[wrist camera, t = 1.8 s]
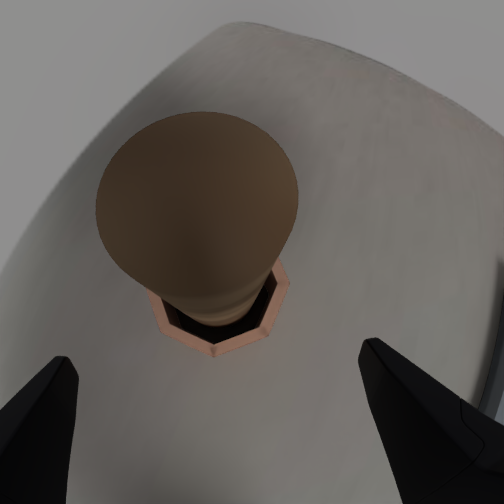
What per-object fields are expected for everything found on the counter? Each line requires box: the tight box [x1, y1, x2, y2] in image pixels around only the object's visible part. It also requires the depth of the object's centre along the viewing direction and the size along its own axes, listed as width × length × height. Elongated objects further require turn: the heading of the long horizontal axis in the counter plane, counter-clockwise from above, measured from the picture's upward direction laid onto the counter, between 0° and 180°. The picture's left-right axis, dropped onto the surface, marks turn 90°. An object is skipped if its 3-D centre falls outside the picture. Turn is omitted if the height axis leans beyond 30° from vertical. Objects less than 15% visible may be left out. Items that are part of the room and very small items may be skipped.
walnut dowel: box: [96, 112, 298, 329], centre depth 13 cm, size 4×4×14 cm
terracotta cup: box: [146, 257, 290, 357], centre depth 18 cm, size 7×7×4 cm
